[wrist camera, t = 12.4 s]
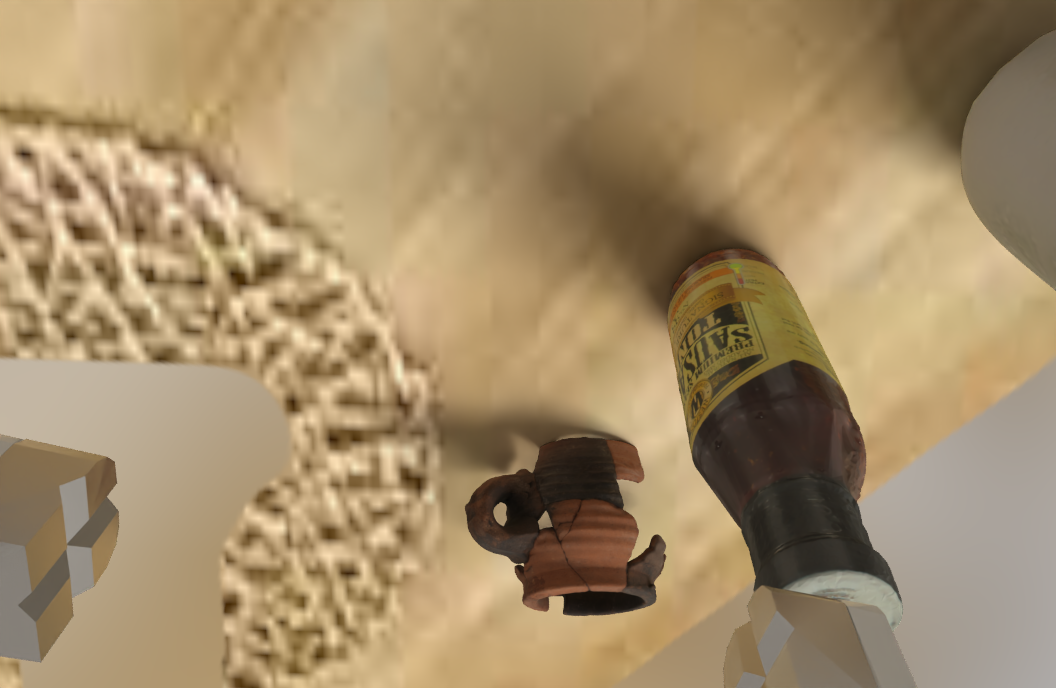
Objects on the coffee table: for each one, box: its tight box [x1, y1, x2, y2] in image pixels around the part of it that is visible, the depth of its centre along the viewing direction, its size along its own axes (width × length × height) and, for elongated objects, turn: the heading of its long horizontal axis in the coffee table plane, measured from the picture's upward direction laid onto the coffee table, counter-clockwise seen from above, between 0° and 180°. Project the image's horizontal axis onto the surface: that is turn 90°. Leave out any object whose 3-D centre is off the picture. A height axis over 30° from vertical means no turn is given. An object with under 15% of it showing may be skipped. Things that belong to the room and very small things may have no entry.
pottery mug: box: [465, 437, 666, 616], centre depth 45 cm, size 12×10×8 cm
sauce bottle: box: [667, 248, 903, 631], centre depth 32 cm, size 7×6×20 cm
